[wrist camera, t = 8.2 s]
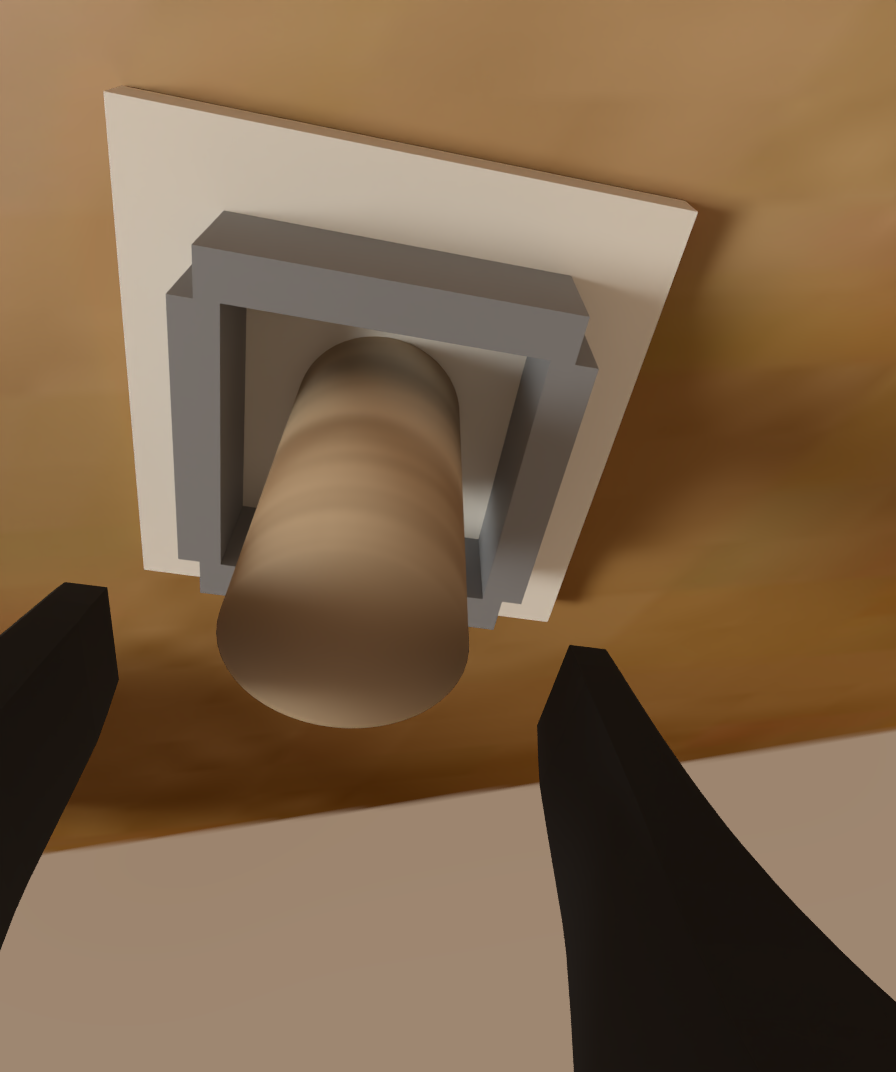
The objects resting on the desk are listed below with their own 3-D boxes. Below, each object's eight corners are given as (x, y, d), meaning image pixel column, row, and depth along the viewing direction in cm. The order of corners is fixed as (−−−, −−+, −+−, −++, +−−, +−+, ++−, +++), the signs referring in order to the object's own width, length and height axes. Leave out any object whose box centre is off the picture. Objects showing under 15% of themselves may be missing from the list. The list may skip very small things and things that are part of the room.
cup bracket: (543, 599, 23) (558, 684, 20) (154, 548, 22) (113, 630, 19) (685, 200, 16) (737, 246, 13) (121, 85, 15) (47, 108, 12)
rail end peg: (444, 492, 19) (446, 739, 13) (293, 470, 19) (218, 715, 13) (473, 351, 17) (492, 568, 11) (301, 323, 17) (213, 532, 10)
